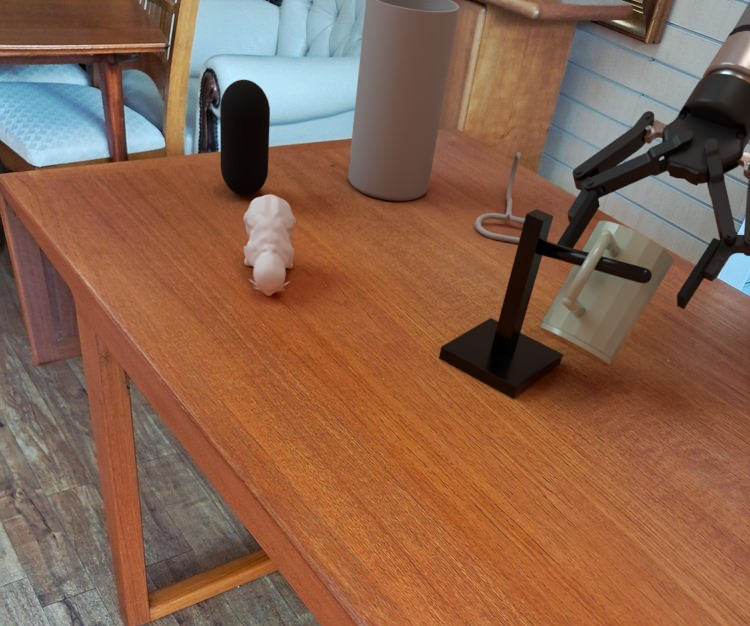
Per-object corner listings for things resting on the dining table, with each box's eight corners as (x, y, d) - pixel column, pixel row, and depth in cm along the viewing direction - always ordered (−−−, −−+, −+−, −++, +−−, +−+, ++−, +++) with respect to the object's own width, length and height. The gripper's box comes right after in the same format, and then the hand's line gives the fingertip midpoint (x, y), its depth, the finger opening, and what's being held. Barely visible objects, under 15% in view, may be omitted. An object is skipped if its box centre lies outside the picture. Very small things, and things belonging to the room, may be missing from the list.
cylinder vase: (331, 177, 122) (347, -11, 105) (389, 165, 129) (413, -14, 112) (386, 208, 116) (412, 14, 99) (443, 194, 123) (478, 9, 106)
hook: (538, 191, 127) (533, 262, 114) (480, 181, 127) (469, 250, 115) (550, 147, 121) (547, 217, 109) (490, 136, 122) (480, 204, 109)
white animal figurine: (297, 190, 95) (300, 244, 87) (293, 253, 101) (295, 309, 93) (244, 185, 94) (241, 239, 86) (243, 250, 100) (241, 305, 92)
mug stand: (438, 358, 88) (469, 208, 76) (488, 328, 94) (524, 186, 82) (575, 432, 80) (632, 279, 69) (619, 395, 87) (678, 249, 75)
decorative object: (259, 183, 117) (261, 72, 107) (273, 202, 113) (277, 88, 102) (215, 185, 114) (214, 72, 104) (228, 204, 110) (228, 88, 100)
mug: (550, 337, 89) (607, 239, 87) (617, 372, 86) (678, 270, 83) (514, 308, 78) (578, 194, 75) (589, 346, 74) (659, 227, 71)
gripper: (850, 158, 78) (732, 340, 79) (625, 85, 89) (523, 248, 89) (866, 109, 72) (737, 309, 72) (620, 37, 82) (510, 213, 82)
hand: (619, 276), depth 81 cm, fingers open, 13 cm apart
